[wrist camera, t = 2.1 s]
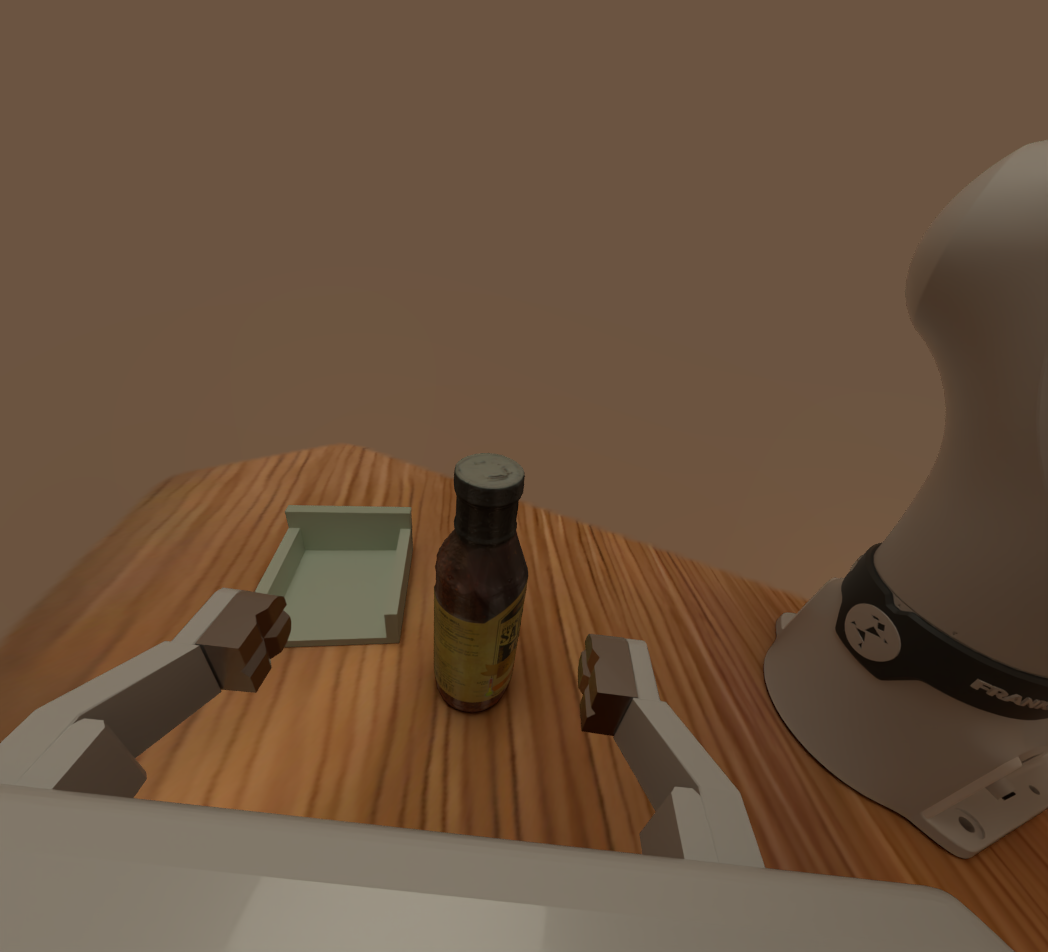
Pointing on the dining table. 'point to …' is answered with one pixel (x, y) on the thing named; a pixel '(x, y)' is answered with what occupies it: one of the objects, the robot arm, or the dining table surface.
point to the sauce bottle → (480, 585)
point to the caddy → (342, 574)
